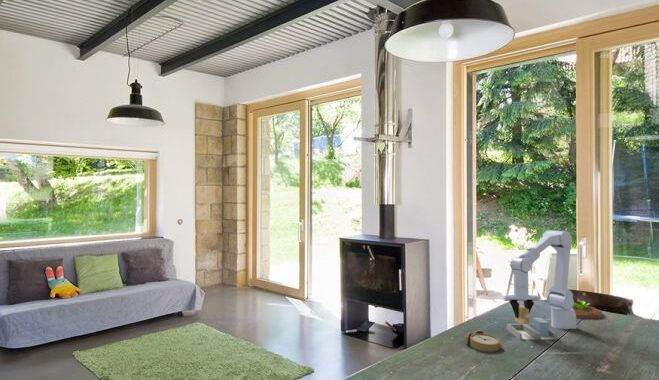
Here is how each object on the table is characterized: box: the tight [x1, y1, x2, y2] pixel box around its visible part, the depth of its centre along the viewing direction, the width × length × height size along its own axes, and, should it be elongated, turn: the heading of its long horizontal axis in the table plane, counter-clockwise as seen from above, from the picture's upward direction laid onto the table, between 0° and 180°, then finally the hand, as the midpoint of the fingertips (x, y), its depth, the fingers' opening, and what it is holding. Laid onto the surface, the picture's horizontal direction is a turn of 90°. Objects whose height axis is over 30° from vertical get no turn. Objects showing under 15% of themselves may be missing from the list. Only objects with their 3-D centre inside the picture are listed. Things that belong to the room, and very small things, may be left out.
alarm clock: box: [463, 330, 503, 353], centre depth 173 cm, size 11×5×15 cm
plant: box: [571, 291, 603, 320], centre depth 217 cm, size 20×20×11 cm
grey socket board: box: [506, 323, 558, 340], centre depth 184 cm, size 15×14×3 cm
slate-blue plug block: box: [531, 317, 550, 337], centre depth 183 cm, size 4×7×6 cm, turn 178°
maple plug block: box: [513, 304, 530, 324], centre depth 184 cm, size 4×7×6 cm, turn 178°
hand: (521, 317), depth 183 cm, fingers closed on maple plug block, 4 cm apart
